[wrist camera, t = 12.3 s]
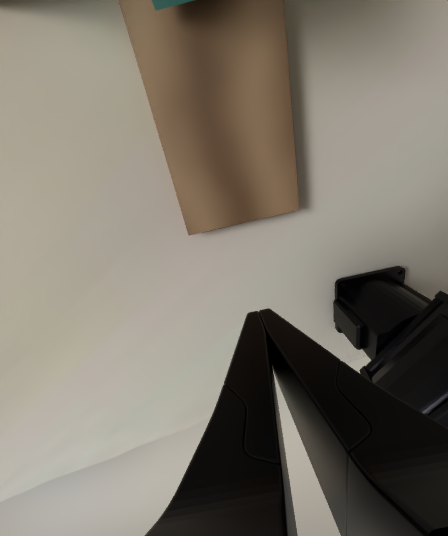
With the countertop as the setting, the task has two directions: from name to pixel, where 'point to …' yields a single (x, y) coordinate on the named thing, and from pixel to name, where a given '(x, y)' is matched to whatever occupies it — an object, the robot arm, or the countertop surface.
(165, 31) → the walnut board
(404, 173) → the countertop surface
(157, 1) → the teal block
